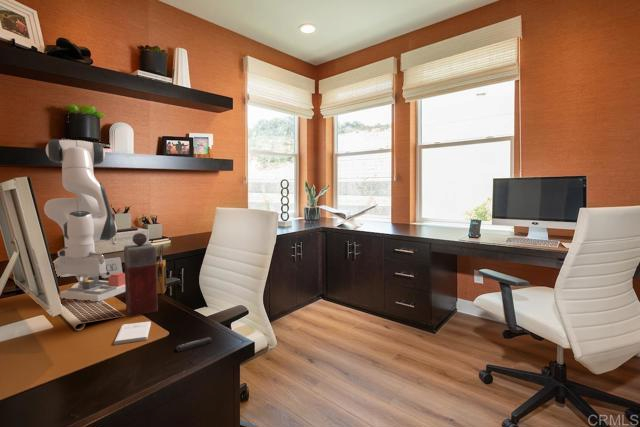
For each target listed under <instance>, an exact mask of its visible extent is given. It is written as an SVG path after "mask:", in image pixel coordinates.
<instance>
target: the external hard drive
mask: <svg viewBox="0 0 640 427" xmlns="http://www.w3.org/2000/svg"><path fill="white" fill-rule="evenodd" d="M151 325H152V322H151V321H142V322H134V323H125V324H122V325H121V327H120V328H119V331H118V333H117V335H116V337H115V340H114V342H113V344H114V345H122V344H128V343H134V342H136V343H137V342H143V341H147V340H148V338H149V333H150V330H151Z"/></svg>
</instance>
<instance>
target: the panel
mask: <svg viewBox="0 0 640 427" xmlns="http://www.w3.org/2000/svg"><path fill="white" fill-rule="evenodd" d="M123 293H126V290H125V285H122V286H120V287H116V286H109V284H108V280H100V279H99V284H96V287H94V288H91V289H83V285H79V284H78V285H77V286H75V287H67V289H65V290H63V291H60V292H59V296H60V297H61V298H60V297H59V298H60V299H63V298H65V299H64V300H73V299H77V300H76V301H84V300H90V301H89V302H95V301H99V302H101V301H100V300H102V301H104V300H106V299H109V298H112V297H114V296H118V295H120V294H123Z"/></svg>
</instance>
